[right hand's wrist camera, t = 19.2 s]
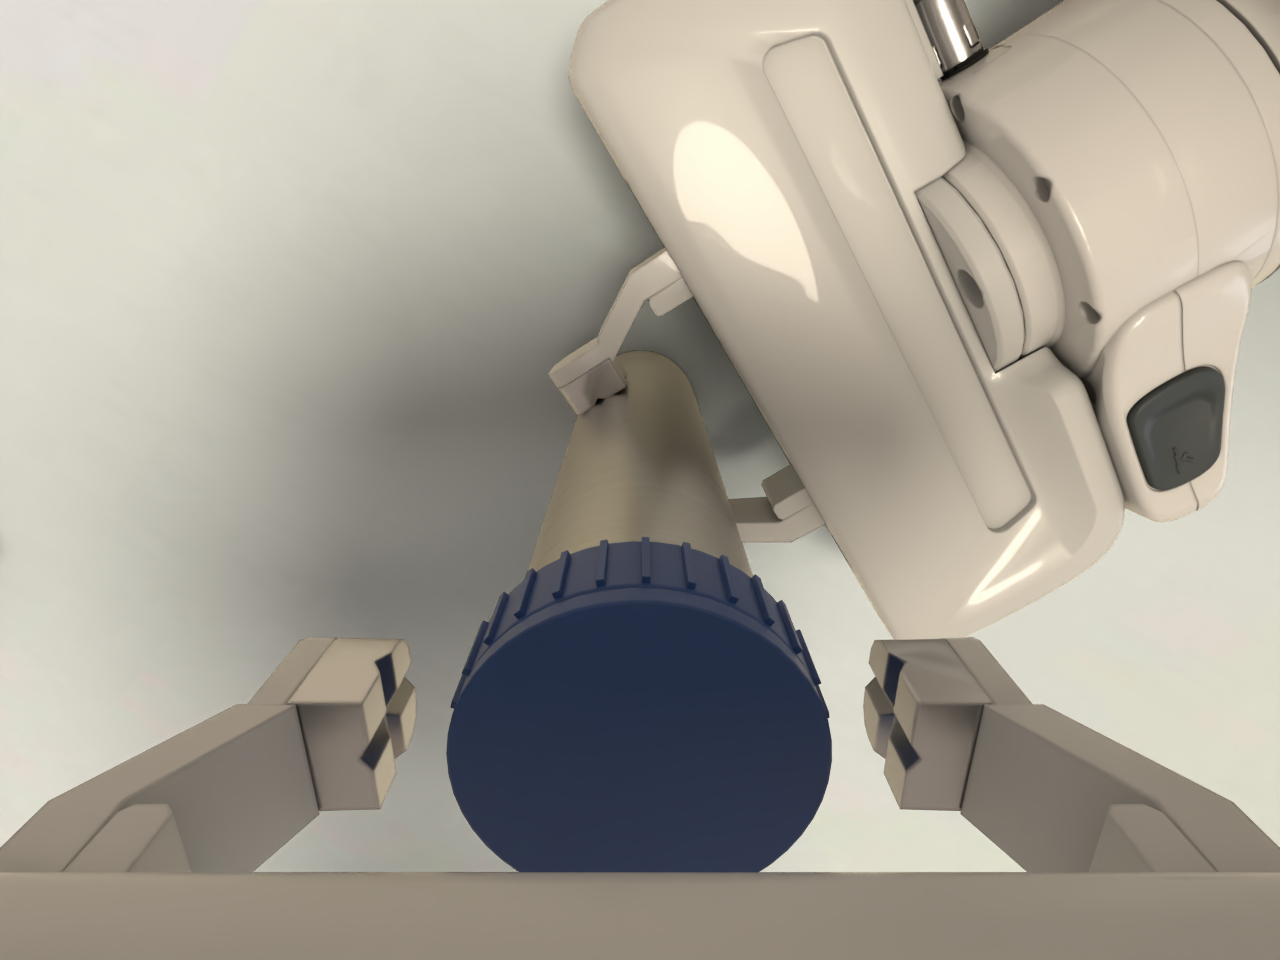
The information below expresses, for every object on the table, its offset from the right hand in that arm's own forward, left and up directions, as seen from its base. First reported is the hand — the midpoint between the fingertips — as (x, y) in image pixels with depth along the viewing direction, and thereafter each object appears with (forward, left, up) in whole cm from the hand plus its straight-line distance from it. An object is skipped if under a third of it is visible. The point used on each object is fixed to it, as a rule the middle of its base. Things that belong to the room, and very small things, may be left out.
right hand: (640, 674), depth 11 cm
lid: (0, 0, +2) cm, 2 cm away
